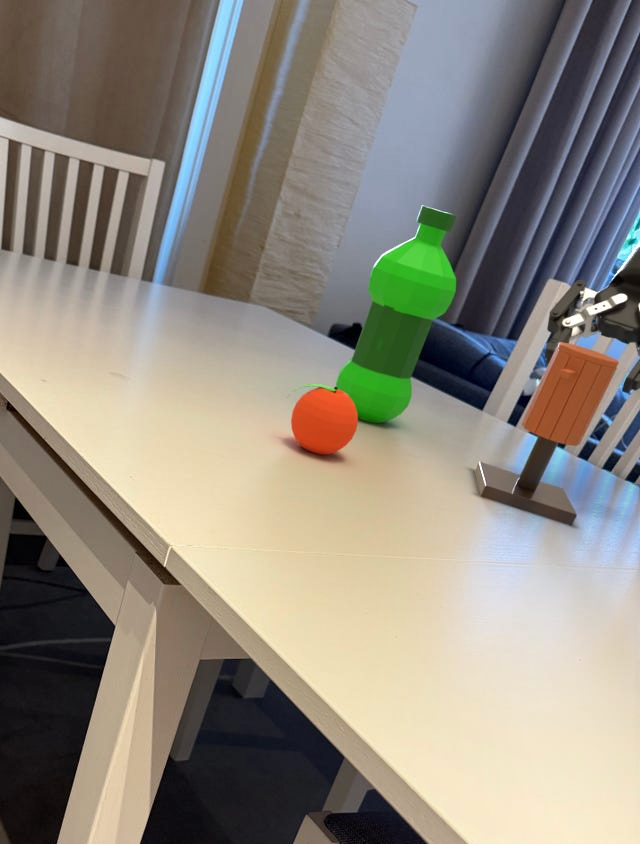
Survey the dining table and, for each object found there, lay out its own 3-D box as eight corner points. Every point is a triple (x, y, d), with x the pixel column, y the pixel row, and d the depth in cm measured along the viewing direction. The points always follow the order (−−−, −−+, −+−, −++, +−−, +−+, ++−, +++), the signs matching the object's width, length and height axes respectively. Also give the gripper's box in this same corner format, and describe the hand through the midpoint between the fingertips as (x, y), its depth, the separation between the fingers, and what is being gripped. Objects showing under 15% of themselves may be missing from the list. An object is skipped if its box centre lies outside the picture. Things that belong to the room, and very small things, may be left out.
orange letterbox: (531, 422, 104) (568, 342, 99) (585, 443, 101) (625, 361, 97) (506, 427, 97) (544, 342, 93) (562, 450, 94) (604, 363, 90)
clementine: (267, 445, 96) (289, 378, 93) (279, 431, 102) (299, 368, 99) (340, 470, 95) (365, 403, 92) (348, 454, 101) (371, 391, 98)
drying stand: (557, 500, 107) (624, 364, 100) (570, 527, 99) (645, 380, 91) (473, 473, 108) (534, 336, 101) (479, 498, 100) (546, 350, 92)
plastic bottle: (309, 402, 119) (379, 193, 107) (356, 403, 126) (428, 207, 114) (369, 432, 113) (451, 214, 101) (416, 431, 120) (497, 227, 108)
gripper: (605, 223, 102) (528, 327, 99) (739, 261, 96) (661, 373, 93) (594, 275, 109) (522, 374, 106) (719, 314, 102) (646, 420, 99)
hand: (587, 373), depth 99 cm, fingers open, 8 cm apart
